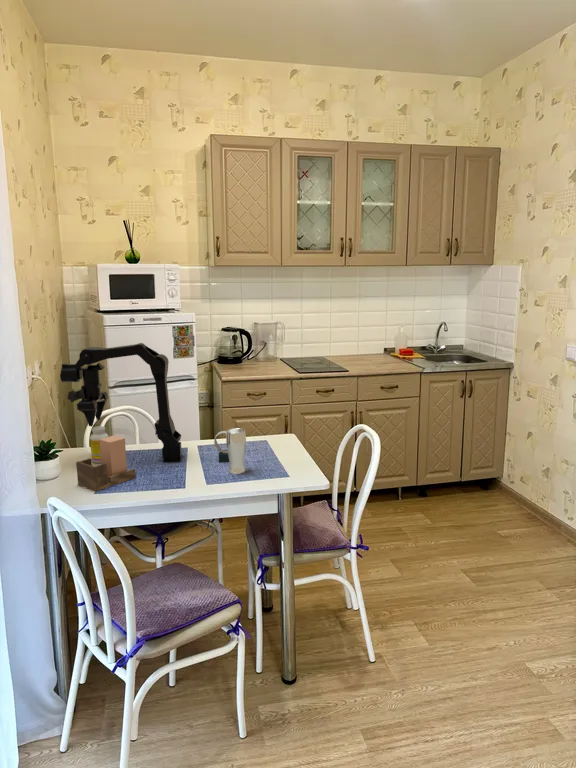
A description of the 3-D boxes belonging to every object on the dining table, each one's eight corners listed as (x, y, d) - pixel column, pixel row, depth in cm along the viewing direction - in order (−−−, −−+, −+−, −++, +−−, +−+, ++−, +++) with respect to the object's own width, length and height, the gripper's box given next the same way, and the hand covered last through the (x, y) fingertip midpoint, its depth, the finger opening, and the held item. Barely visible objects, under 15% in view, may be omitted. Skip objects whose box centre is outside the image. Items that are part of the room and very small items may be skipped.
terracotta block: (116, 471, 206) (114, 435, 203) (127, 474, 202) (124, 438, 200) (101, 475, 201) (99, 439, 199) (112, 479, 197) (109, 442, 195)
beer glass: (228, 468, 211) (227, 427, 208) (247, 468, 211) (246, 427, 208) (225, 474, 204) (224, 433, 202) (245, 474, 204) (244, 433, 201)
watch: (235, 462, 218) (234, 433, 216) (214, 462, 218) (213, 433, 215) (236, 457, 223) (236, 429, 221) (215, 457, 223) (214, 429, 221)
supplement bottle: (106, 463, 218) (104, 430, 215) (89, 463, 218) (86, 430, 215) (112, 457, 224) (110, 425, 222) (95, 457, 224) (92, 425, 222)
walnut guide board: (118, 471, 209) (116, 450, 207) (135, 477, 203) (134, 455, 201) (78, 484, 196) (76, 461, 195) (95, 491, 190) (93, 467, 189)
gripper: (77, 377, 224) (80, 417, 227) (60, 387, 206) (64, 430, 209) (106, 377, 224) (109, 416, 227) (92, 386, 206) (95, 429, 209)
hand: (94, 423), depth 218 cm, fingers open, 9 cm apart
